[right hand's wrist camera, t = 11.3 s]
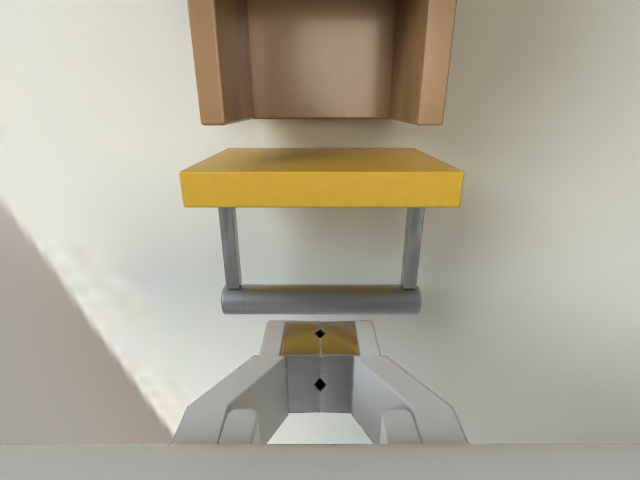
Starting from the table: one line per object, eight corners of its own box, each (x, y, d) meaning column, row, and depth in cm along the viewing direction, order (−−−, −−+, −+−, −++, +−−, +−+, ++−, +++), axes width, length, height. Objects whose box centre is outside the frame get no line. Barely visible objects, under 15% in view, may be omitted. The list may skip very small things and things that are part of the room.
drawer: (403, 279, 20) (439, 355, 14) (239, 279, 20) (203, 355, 14) (455, -290, 12) (584, -668, 6) (188, -289, 12) (61, -665, 6)
